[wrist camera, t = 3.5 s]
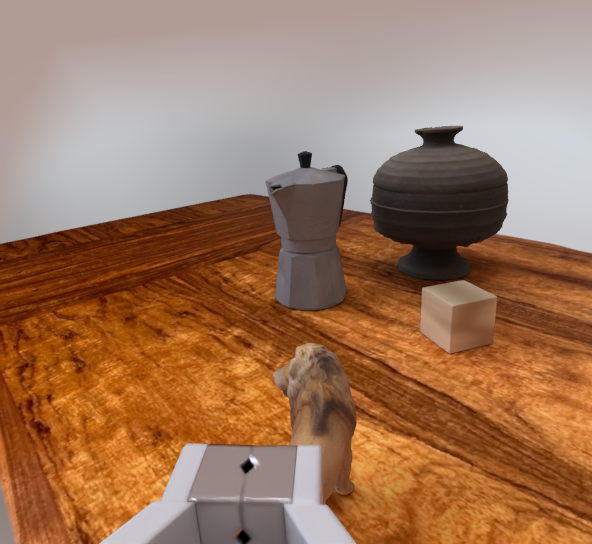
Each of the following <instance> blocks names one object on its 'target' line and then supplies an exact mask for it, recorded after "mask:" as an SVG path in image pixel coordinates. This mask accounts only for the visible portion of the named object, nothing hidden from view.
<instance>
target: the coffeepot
mask: <svg viewBox="0 0 592 544" xmlns="http://www.w3.org/2000/svg"><path fill="white" fill-rule="evenodd" d="M311 157H312V153H310V152H306V151H305V152H301V153H299V154H298V158H299V162H300V166H301V168H299V169H296V170H293V171H290V172H287V173H284V174H281V175H277V176H275V177H273V178H271V179H269V180H267V181H266V185H267V190H268V194H269V199H270V203H271V208H272V212H273V217H274V221H275V226H276V231H277V234H278V235H279V236H281V240H282V248H281V250H280V254H279V263H278V273H277V283H276V292H275V299H276V300H277V301H278V302H279V303H281V304H282V305H283V306H285V307H288V308H291V309H296V310H320V309H326V308H330V307H333V306H335V305H337V304H339V303H341V302H342V301H343V300H344V298H345V293H346V285H345V280H344V275H343V270H342V264H341V259H340V254H339V249H338V246H336V233H337V231H338V229H339V226H340V224H341V217H342V212H343V206H344V199H345V192H346V187H347V181H348V180H347V175H346V174H345V172H344V170H343V168H342V167H341V166H339V165H335V166H332V167H329V168H323V169H321V170H319V169H315V168H311V167H310V164H311Z"/></svg>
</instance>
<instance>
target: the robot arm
mask: <svg viewBox="0 0 592 544" xmlns="http://www.w3.org/2000/svg"><path fill="white" fill-rule="evenodd" d="M100 544H356V542H355V541H354V540H353V538H352V537H351V536H350V534H349V533H348V532H347V530H346V529H345V528H344V526H343V525H342V524H341V522H340V521H339V520H338V518H337V517H336V516H335V514H334V513H333V512H332V510H331V509H330V508H329V506H328V505H323V492H322V451H321V446H320V445H254V446H253V445H232V444H192V443H187V444H186V445H185V446H184V448H183V449H182V451H181V454H180V456H179V459H178V461H177V463H176V466H175V468H174V470H173V473H172V475H171V477H170V480H169V482H168V484H167V487H166V489H165V491H164V494H163V496H162V499H161V501H153V502H152V503H151V504H149V505H148V506H147V507H146V508H144V509H143V510H142V511H140V512H139V513H138V514H137V515H135V516H134V517H133V518H132V519H130V520H129V521H128V522H126V523H125V524H124V525H123V526H121V527H120V528H119V529H117V530H116V531H115V532H114V533H112V534H111V535H110V536H108V537H107V538H106V539H105V540H103V541H102V542H101V543H100Z"/></svg>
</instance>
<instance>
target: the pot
mask: <svg viewBox="0 0 592 544" xmlns="http://www.w3.org/2000/svg"><path fill="white" fill-rule="evenodd" d="M462 130H463V126H443V127H435V128H423V129H417V130H415V133H416V134H418V135H420V136H421V137H422V138H423V141H424V143H423V145H422V146H420V147H417V148H413V149H410V150H408V151H405V152H401V153H399V154H397V155H395V156H393V157H391V158H390V159H389V160H388V161H386V162H385V163H384V164H383V165H382V166H381V167H380V168H379V169H378V170H377V173H376V174H375V176H374V178H373V183H374V185H373V194H372V198H371V200H370V201H371V204H372V213H371V214H372V217H373V220H374V229H375V231H376V232H379V233H380V234H382V235H383V236H384V237H387V238H391V239H392V240H393V241H396V242H400V244H412V245H414V247H413V249H412V251H411V252H410V253H409V254H407V255H406V256H404V257H402V258H400V260H399V262H398V269H399V271H401V272H403V273H405V274H407V275H409V276H412V277H415V278H416V277H417V278H421V279H429V280H451V279H457V278H462V277H465V276H467V275H468V274H469V273H470V272H471V265H470V263H469V262H468V261H467V260H466V259H465V258H463V257H462V256H460V255H459V254H458V252H457V249H456V246H464V247H468V246H469V245H471V244H473V243H478V242H482V241H483V240H485V239H487V238H489V237H491V236H493V235H494V234H496V233H497V232H498V231H499V230H500V229H501V227H502V224H503V221H504V219H505V218H506V216H507V213H506V208H507V204H508V184H507V181H508V178H507V174H506V172H505V170H504V169H503V168H502V166H501V165H500V164H499V163H498V162H497V161H496V160H495V159H494V158H492V157H490V156H489V155H488V154H487V153H485V152H482V151H480V150H477V149H475V148H470V147H467V146H464V145H460V144H456V143H454V137H455V135H456V134H457V133H458V132H460V131H462Z"/></svg>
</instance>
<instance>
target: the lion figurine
mask: <svg viewBox="0 0 592 544" xmlns="http://www.w3.org/2000/svg"><path fill="white" fill-rule="evenodd" d="M273 377H274V378H275V384H276V386H277V387H278V388H279V389H280V390H283V394H284V396H285V397H289V400H290V407H291V412H290V414H291V426H292V430H293V432H292V437H291V443H290V445H320V446H321V451H322V492H323V505H326V502H325V501H326V500H327V499H328V498H329V497H330V495H331V494H332V492H333V490H334V488H335V491H336V492H337V493H339V494H341V495H347V494H349V493H351V492H352V491H353V489H354V484H353V483H352V482H351V481H350V480H349V475H350V470H351V462H352V451H351V438H352V436H353V434H354V430H355V427H356V412H355V404H354V401H353V399H352V396H351V392H350V387H349V380H348V378H347V376H346V374H345V372H344V371H343V367H342V365H341V364H340V361H339V359H338V358H337V356H336V355H335V354H334V353H332V352H331V351H329V350H327V349H326V348H325V346H324V345H319V344H314V343H307V344H306V345H301V346H298V347H297V348H296V357H295V358H293V359H292V360H291V361H290V363H289V364H287V365H286V366H284V367H282V368H279V369H277V370H276V371H275V372H274V373H273Z"/></svg>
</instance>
